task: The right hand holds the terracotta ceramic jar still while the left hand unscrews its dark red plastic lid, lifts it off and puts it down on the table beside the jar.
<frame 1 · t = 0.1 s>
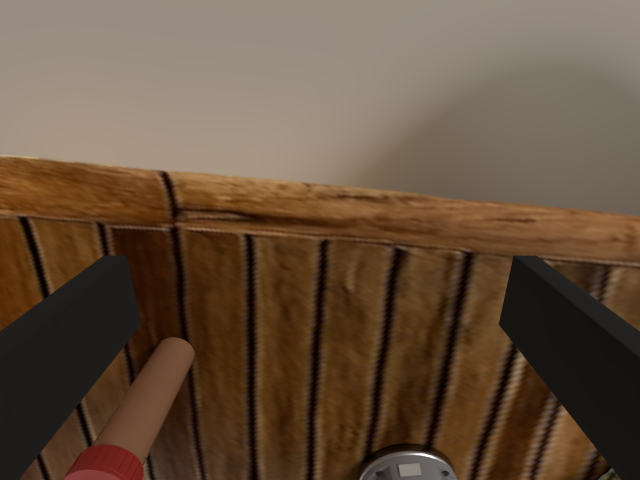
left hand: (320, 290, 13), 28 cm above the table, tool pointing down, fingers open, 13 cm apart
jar: (175, 352, 48), on the table
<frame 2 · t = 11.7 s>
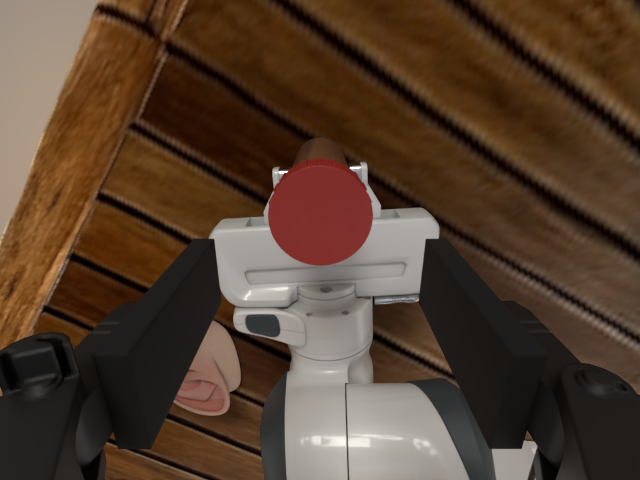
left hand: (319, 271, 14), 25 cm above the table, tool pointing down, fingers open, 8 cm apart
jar: (320, 162, 37), on the table, touching right hand
anatomical model: (195, 353, 46), on the table
lid: (320, 216, 20), point 18 cm above the table, screwed on, not yet turned
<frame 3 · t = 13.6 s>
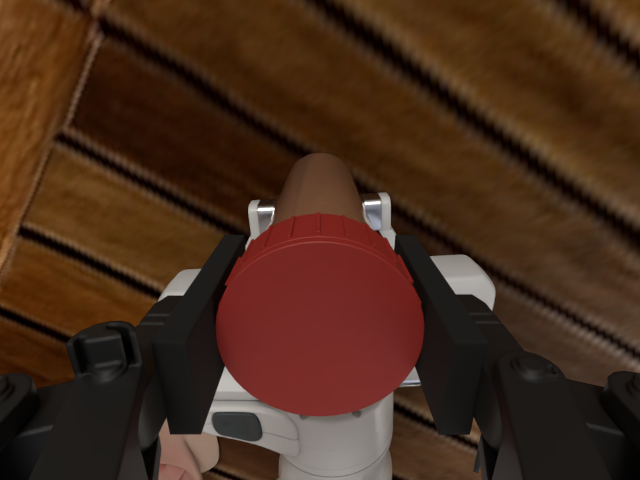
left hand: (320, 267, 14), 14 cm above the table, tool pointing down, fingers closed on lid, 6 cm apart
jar: (319, 187, 27), on the table, touching right hand
anatomical model: (159, 424, 36), on the table
lid: (319, 331, 10), point 18 cm above the table, screwed on, not yet turned, touching left hand
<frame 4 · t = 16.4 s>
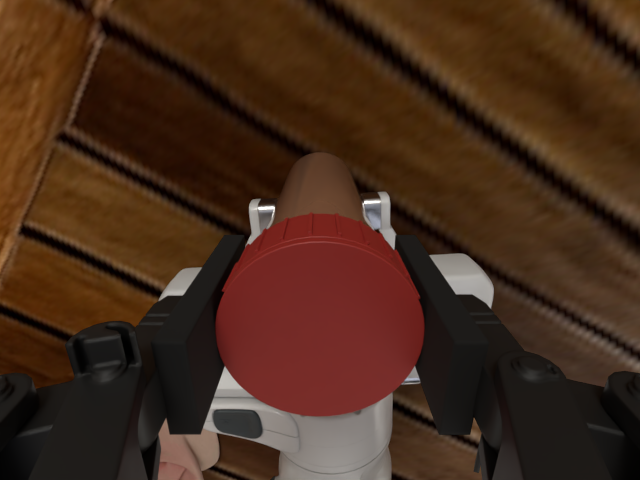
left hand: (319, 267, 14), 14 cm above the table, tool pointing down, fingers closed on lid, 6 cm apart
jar: (319, 186, 27), on the table, touching right hand
anatomical model: (160, 422, 36), on the table
lid: (319, 331, 10), point 18 cm above the table, turned 64° so far, risen 0.2 cm, still on its thread, touching left hand
when the left hand's fingers open (14 cm above the table, at t = 17.6 s): lid stays where it is, point 18 cm above the table.
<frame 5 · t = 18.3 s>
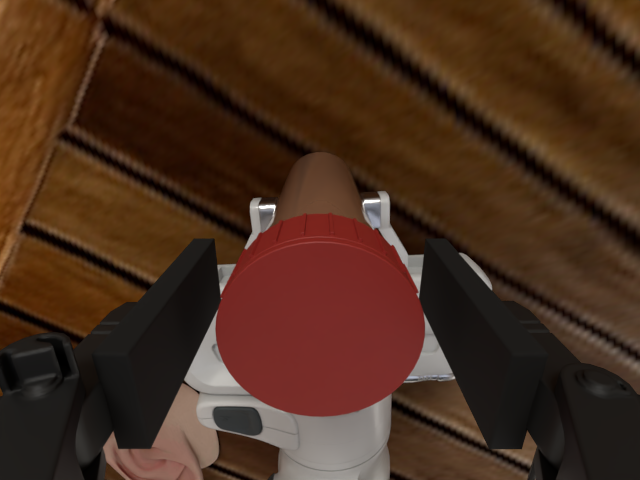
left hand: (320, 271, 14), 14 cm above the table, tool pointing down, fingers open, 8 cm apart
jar: (320, 185, 27), on the table, touching right hand
anatomical model: (160, 420, 36), on the table
lid: (320, 331, 10), point 18 cm above the table, turned 129° so far, risen 0.4 cm, still on its thread
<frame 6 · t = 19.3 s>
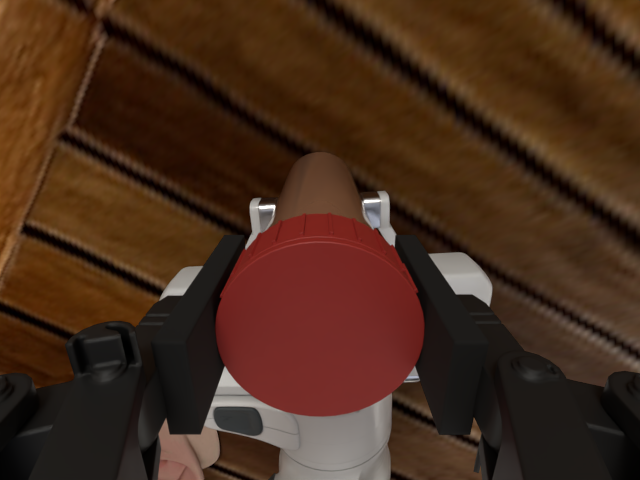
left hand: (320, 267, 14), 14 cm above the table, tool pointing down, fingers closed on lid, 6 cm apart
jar: (319, 185, 27), on the table, touching right hand
anatomical model: (161, 421, 36), on the table
lid: (319, 331, 10), point 18 cm above the table, turned 129° so far, risen 0.4 cm, still on its thread, touching left hand
when the left hand's fingers open (0 cm above the table, at t = 26.6 s): lid drops 2 cm, point 2 cm above the table.
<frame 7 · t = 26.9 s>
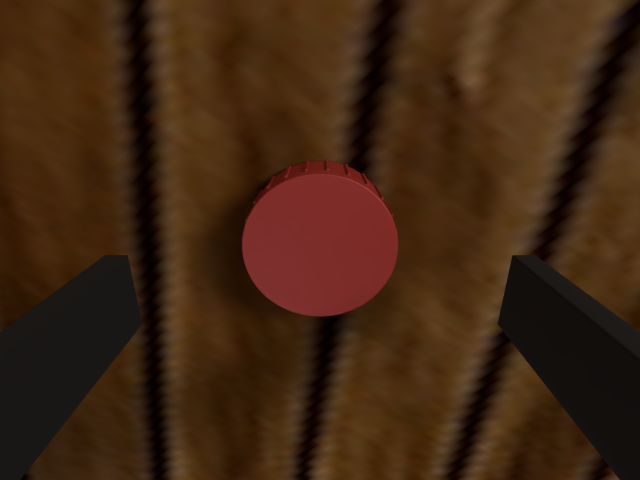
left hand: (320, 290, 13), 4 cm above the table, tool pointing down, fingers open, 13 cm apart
lid: (319, 247, 14), point 2 cm above the table, off its thread
when the right hand's fingers open (7 cm above the table, at t = 27.3 s): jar stays where it is, on the table.
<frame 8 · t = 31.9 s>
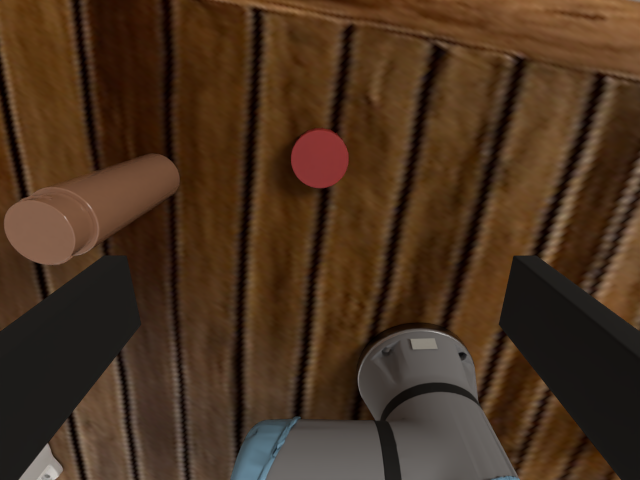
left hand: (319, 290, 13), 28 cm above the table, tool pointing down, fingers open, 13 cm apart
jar: (156, 176, 40), on the table
lid: (319, 159, 37), point 2 cm above the table, off its thread
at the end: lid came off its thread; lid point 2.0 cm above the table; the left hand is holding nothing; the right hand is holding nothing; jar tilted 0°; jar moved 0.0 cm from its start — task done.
